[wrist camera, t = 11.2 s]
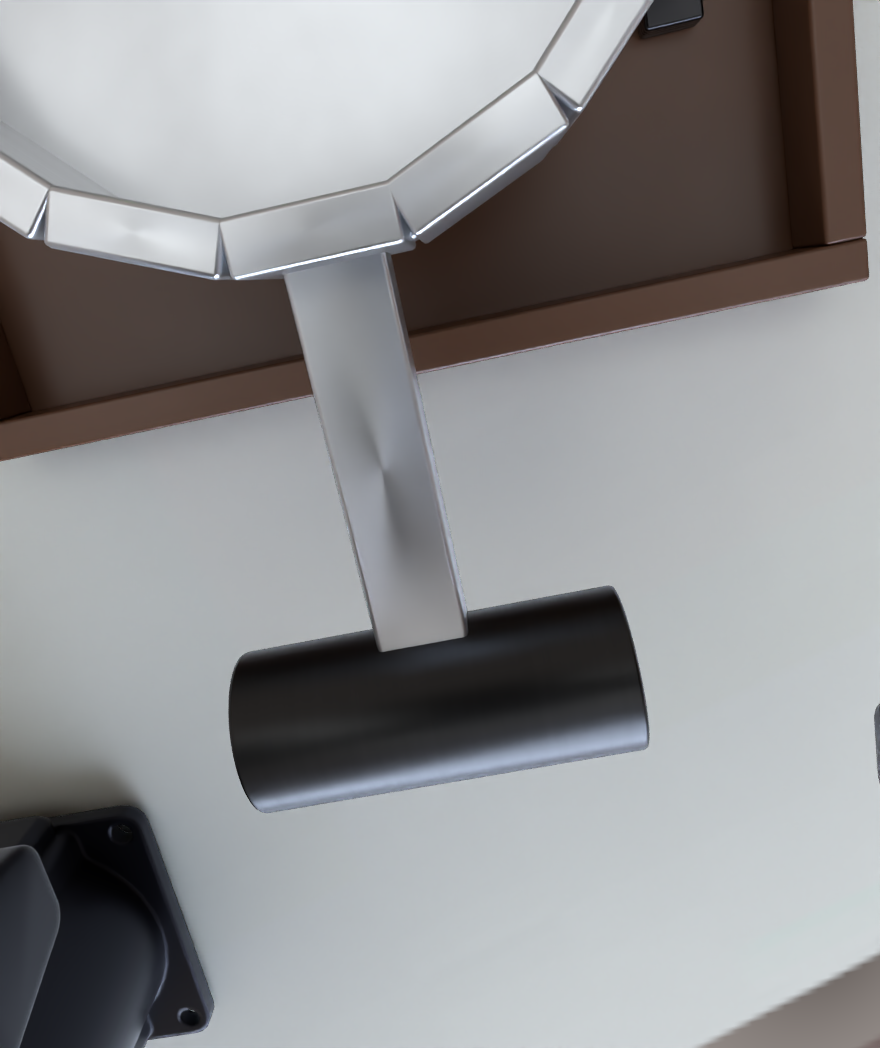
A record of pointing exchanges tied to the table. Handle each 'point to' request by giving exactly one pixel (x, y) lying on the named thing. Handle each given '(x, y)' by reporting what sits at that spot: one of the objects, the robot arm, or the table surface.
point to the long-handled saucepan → (338, 325)
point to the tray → (498, 242)
